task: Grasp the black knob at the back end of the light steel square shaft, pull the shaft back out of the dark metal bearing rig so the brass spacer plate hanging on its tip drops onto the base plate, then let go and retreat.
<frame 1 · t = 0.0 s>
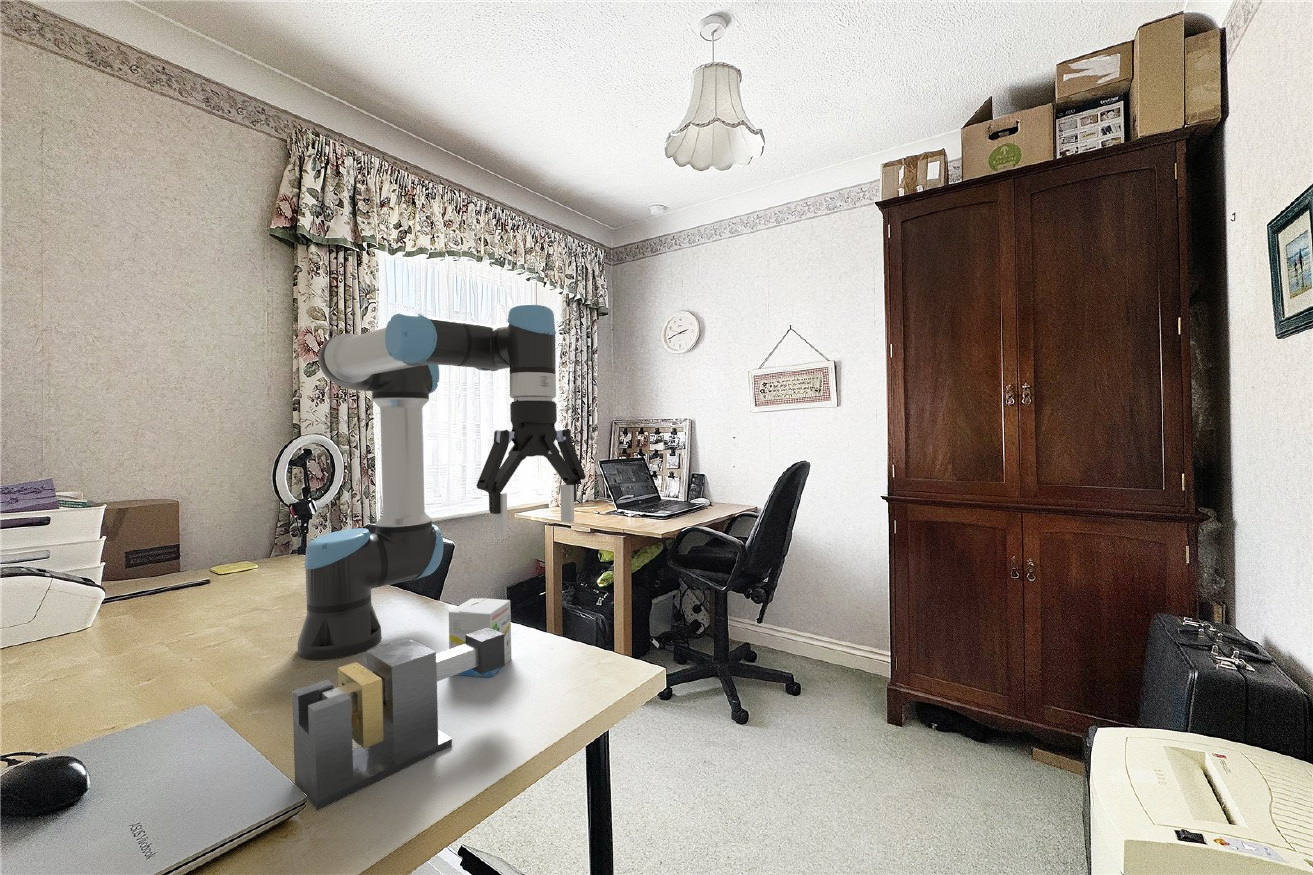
hand: (536, 527, 92), 28 cm above the table, fingers open, 13 cm apart
shaft: (421, 673, 79), point 10 cm above the table, slide at 0.0 cm, touching spacer
spacer: (360, 733, 72), point 5 cm above the table, touching shaft
ink box: (481, 667, 104), on the table
bearing rig: (403, 751, 77), on the table
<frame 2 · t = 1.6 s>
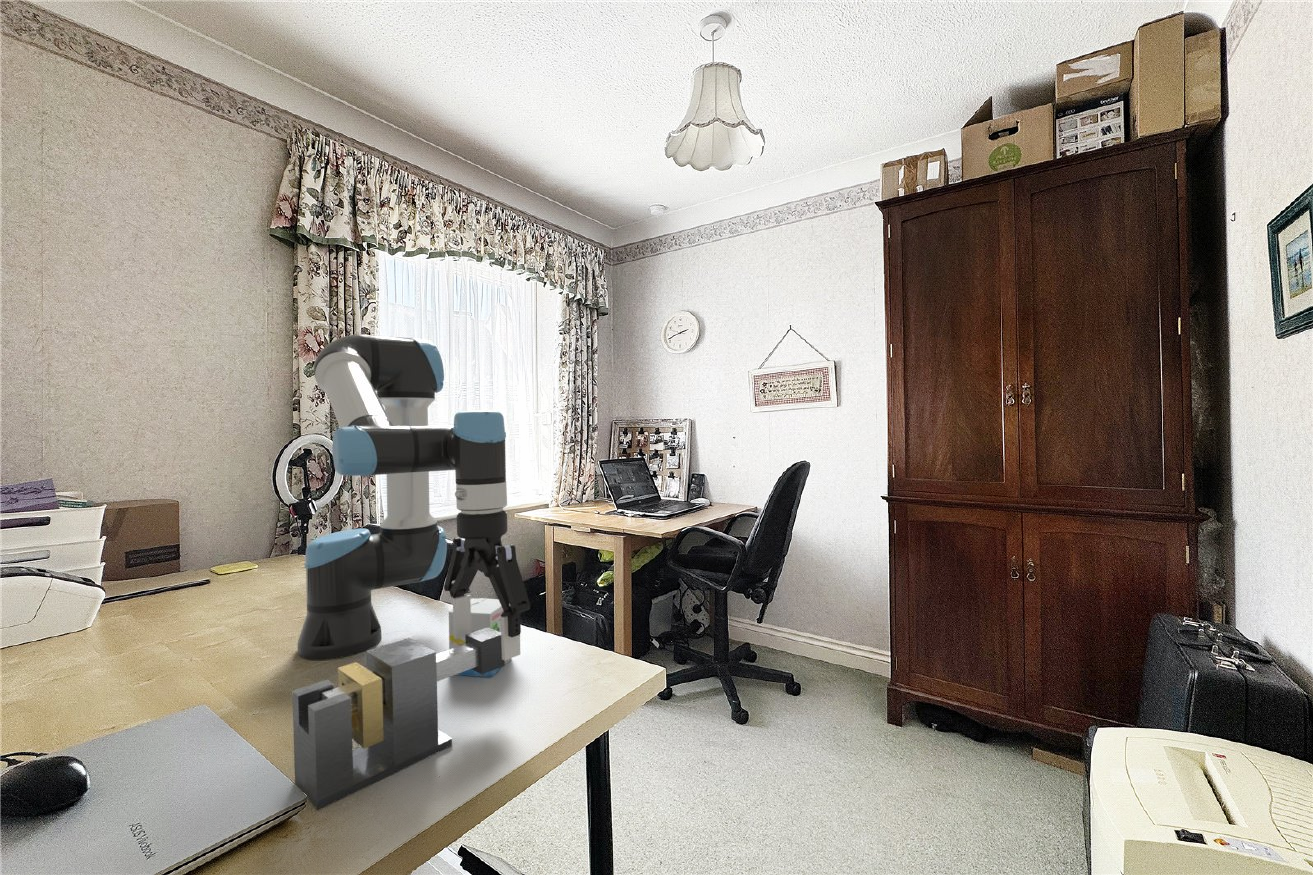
hand: (485, 646, 86), 11 cm above the table, fingers open, 13 cm apart
nothing on the table moved.
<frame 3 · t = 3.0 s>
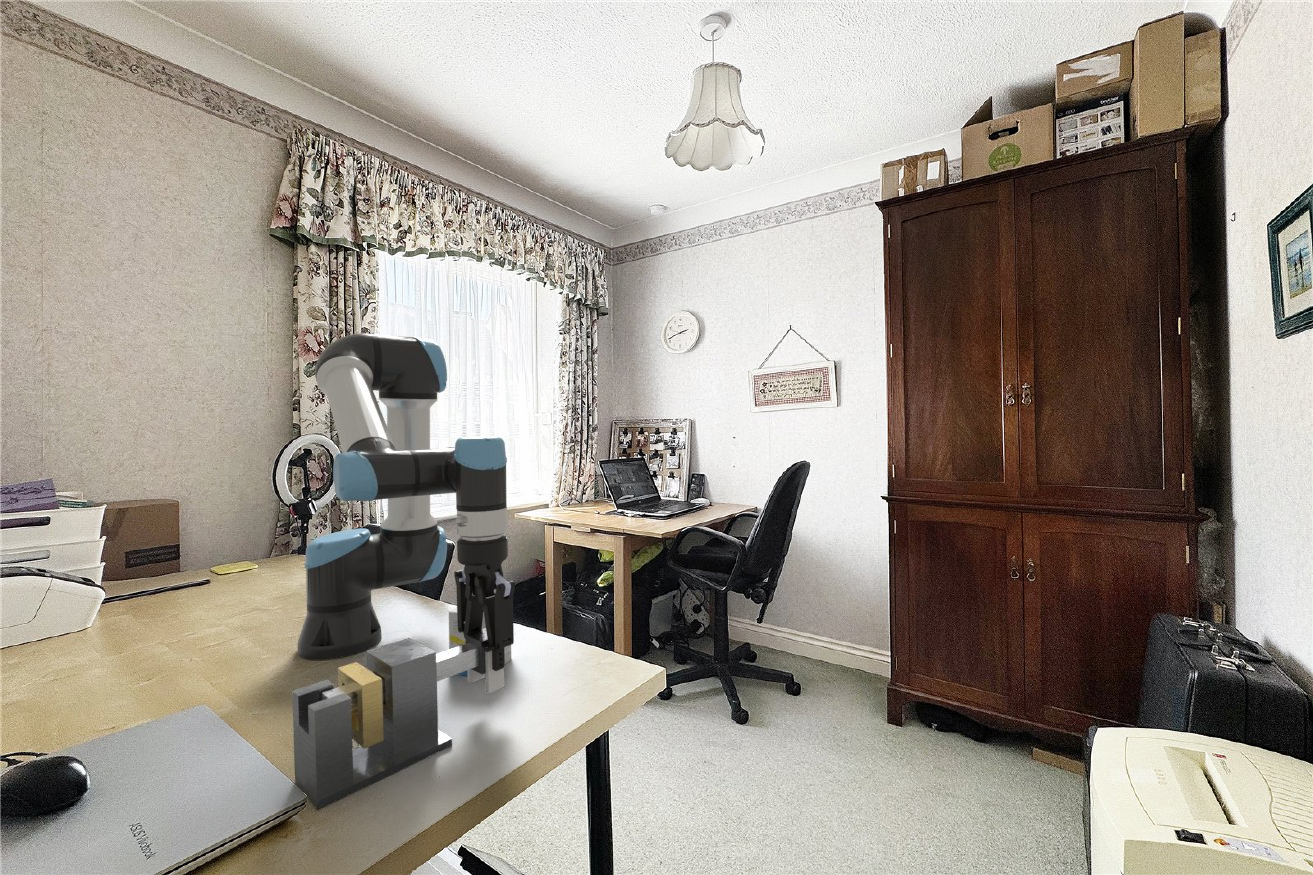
hand: (485, 683, 86), 5 cm above the table, fingers closed on shaft, 4 cm apart
shaft: (421, 673, 79), point 10 cm above the table, slide at 0.0 cm, touching gripper, spacer
everything else where it was.
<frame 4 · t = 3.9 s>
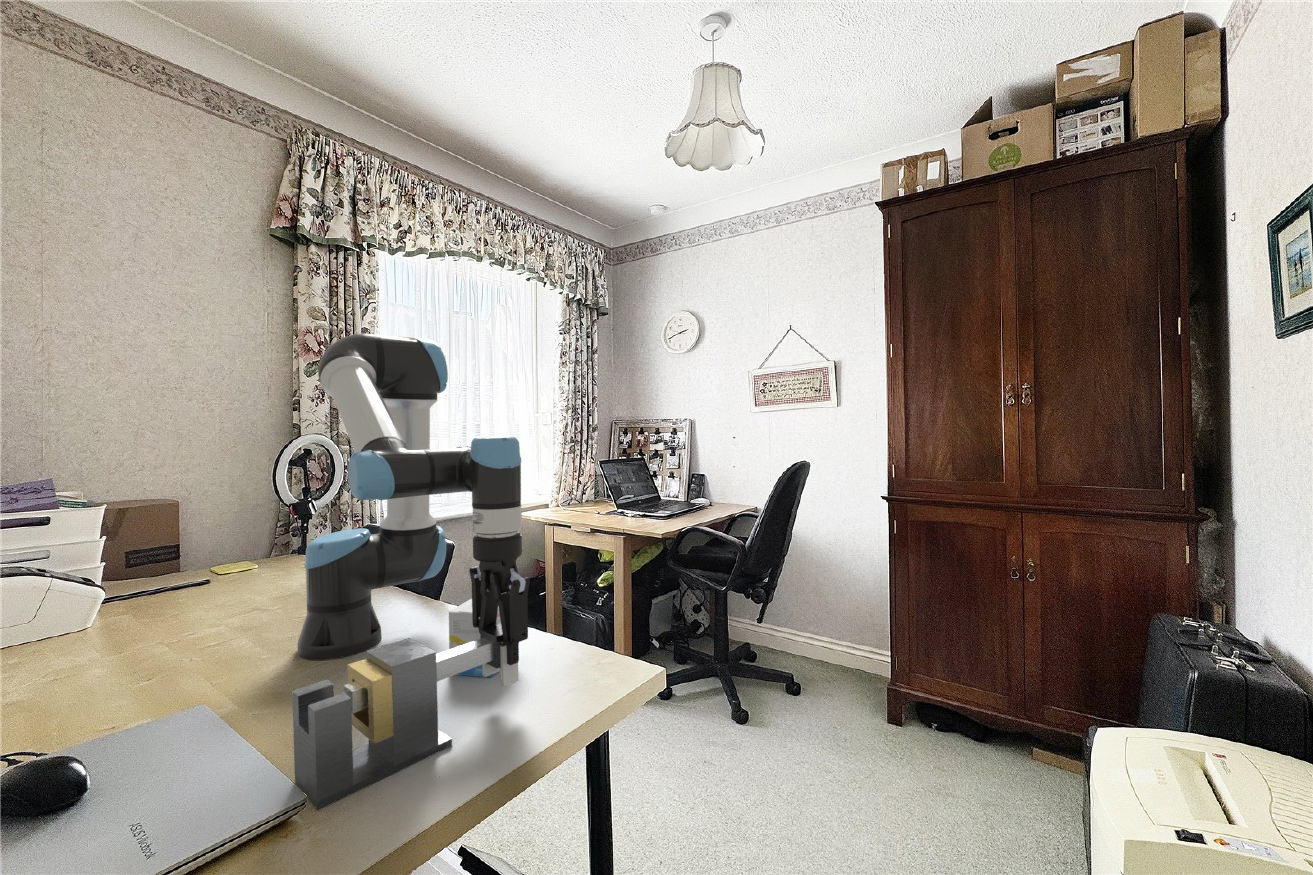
hand: (500, 677, 88), 5 cm above the table, fingers closed on shaft, 4 cm apart
shaft: (438, 666, 81), point 10 cm above the table, slide at 2.6 cm, touching gripper
spacer: (371, 729, 73), point 5 cm above the table
everything else where it was.
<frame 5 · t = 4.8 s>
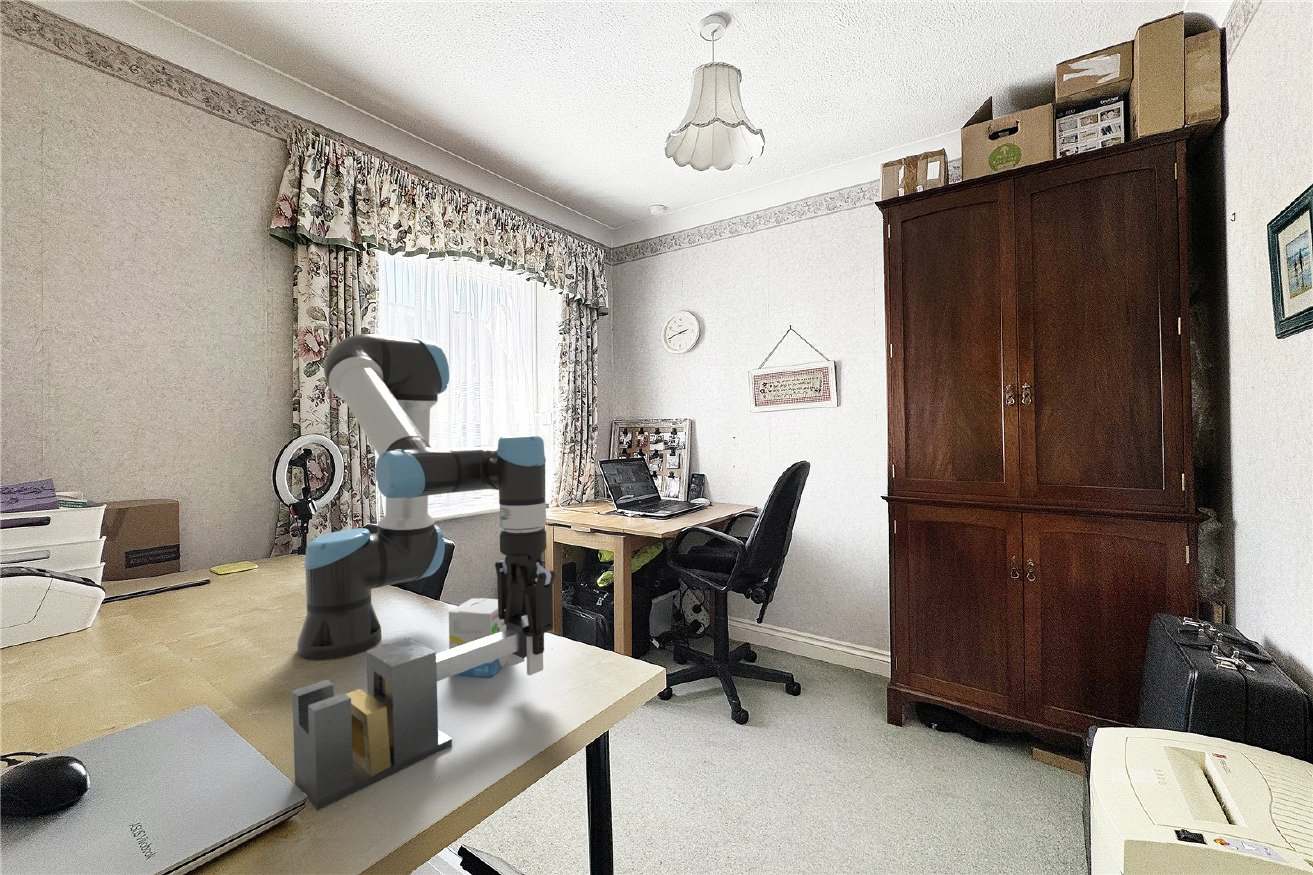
hand: (525, 667, 92), 5 cm above the table, fingers closed on shaft, 4 cm apart
shaft: (468, 656, 84), point 10 cm above the table, slide at 7.5 cm, touching gripper
spacer: (367, 759, 73), point 1 cm above the table, touching bearing rig
everything else where it was.
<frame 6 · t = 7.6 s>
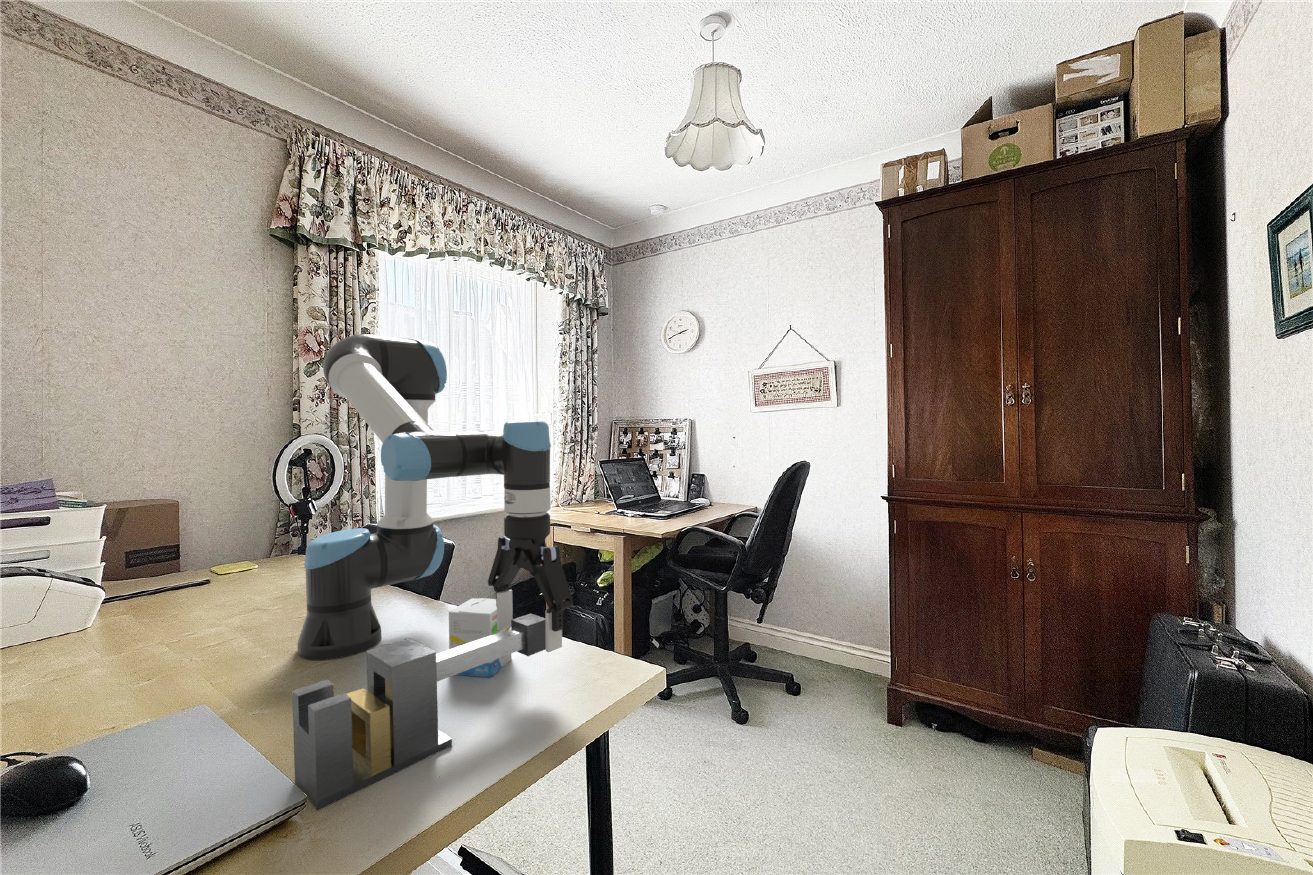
hand: (528, 638, 93), 9 cm above the table, fingers open, 13 cm apart
shaft: (474, 654, 85), point 10 cm above the table, slide at 8.4 cm
everything else where it was.
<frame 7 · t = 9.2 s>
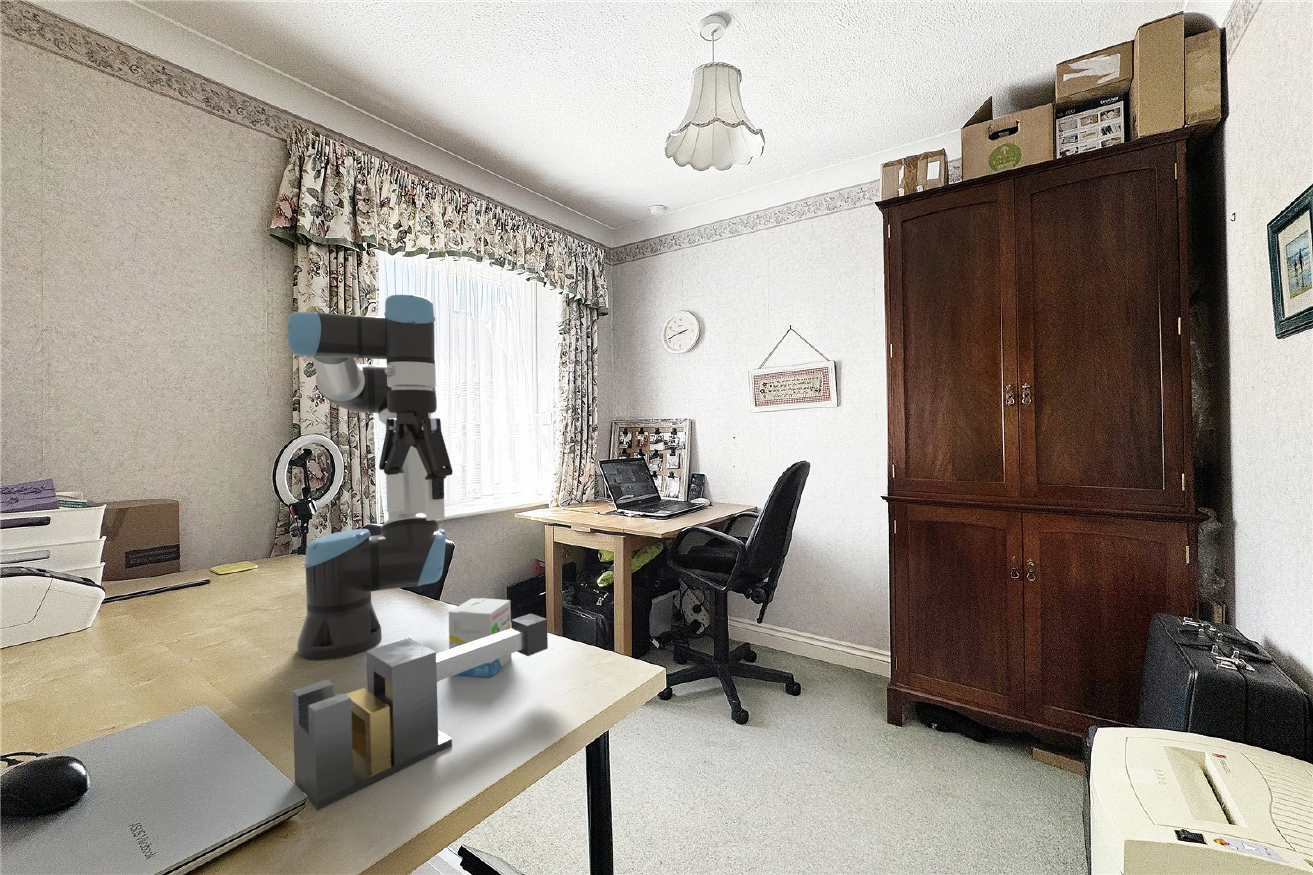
hand: (414, 515, 94), 30 cm above the table, fingers open, 13 cm apart
nothing on the table moved.
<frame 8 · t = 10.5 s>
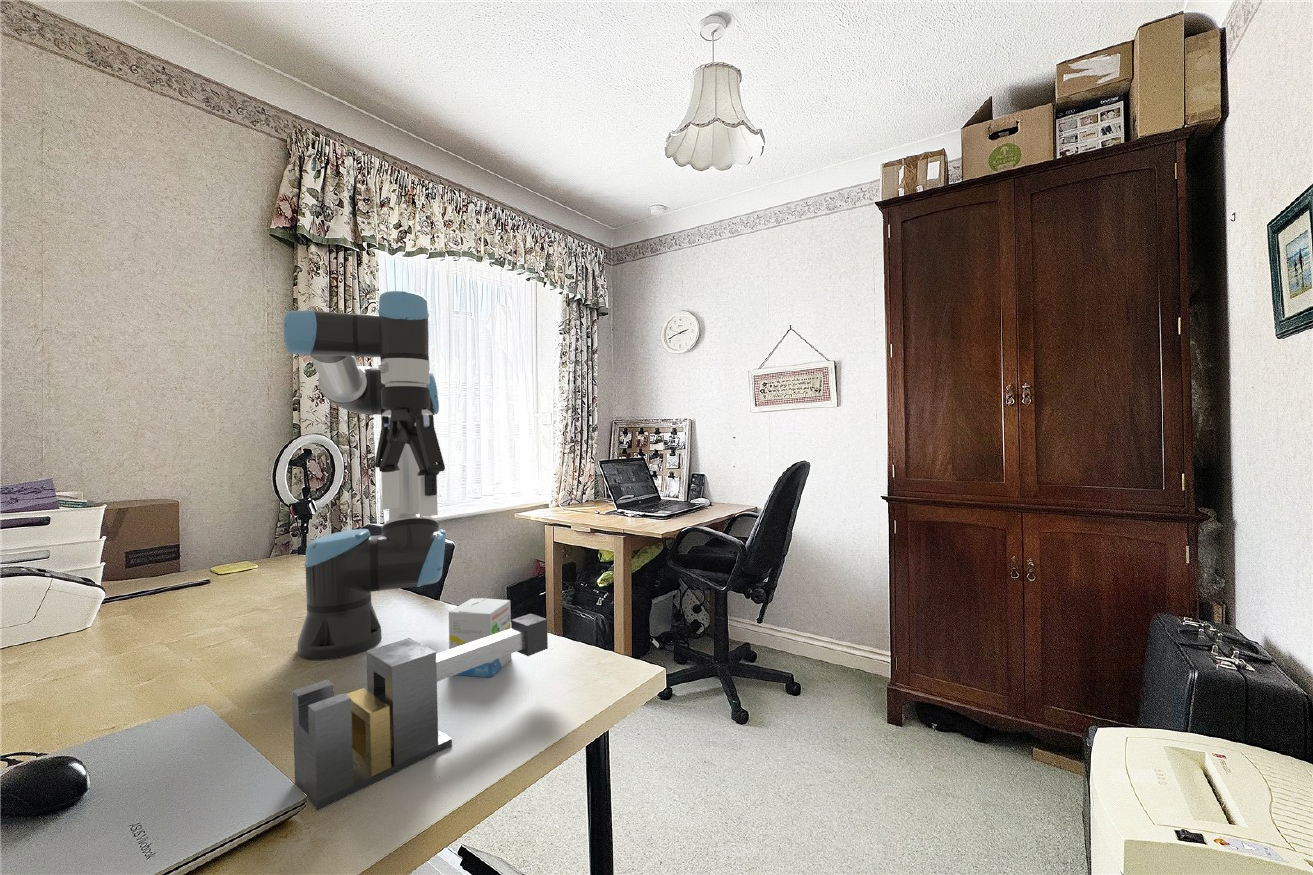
hand: (408, 512, 93), 31 cm above the table, fingers open, 13 cm apart
nothing on the table moved.
at the end: shaft slide at 8.4 cm; spacer point 1.0 cm above the table; spacer inside the target area (2.3 cm from its centre), point 1.0 cm above the table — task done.
